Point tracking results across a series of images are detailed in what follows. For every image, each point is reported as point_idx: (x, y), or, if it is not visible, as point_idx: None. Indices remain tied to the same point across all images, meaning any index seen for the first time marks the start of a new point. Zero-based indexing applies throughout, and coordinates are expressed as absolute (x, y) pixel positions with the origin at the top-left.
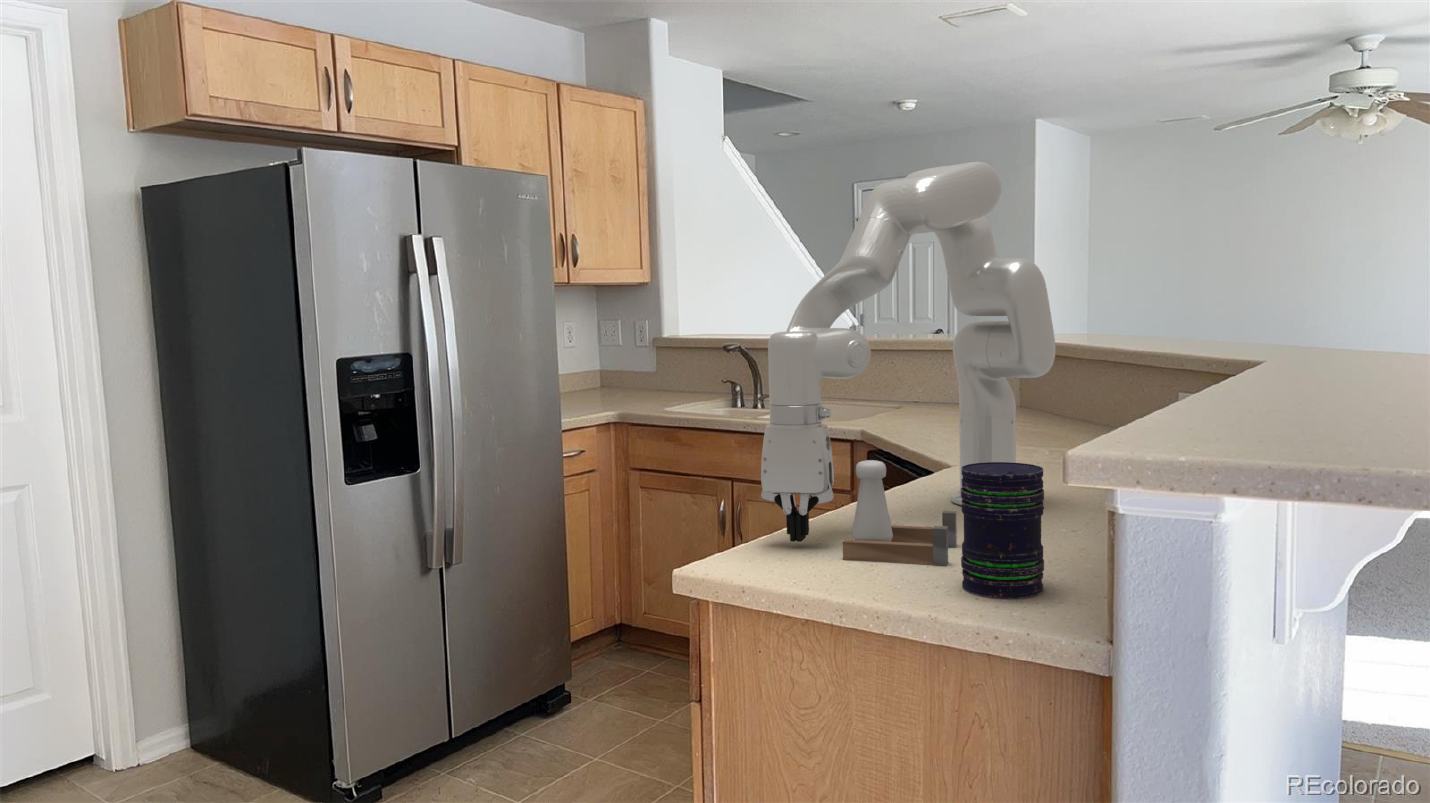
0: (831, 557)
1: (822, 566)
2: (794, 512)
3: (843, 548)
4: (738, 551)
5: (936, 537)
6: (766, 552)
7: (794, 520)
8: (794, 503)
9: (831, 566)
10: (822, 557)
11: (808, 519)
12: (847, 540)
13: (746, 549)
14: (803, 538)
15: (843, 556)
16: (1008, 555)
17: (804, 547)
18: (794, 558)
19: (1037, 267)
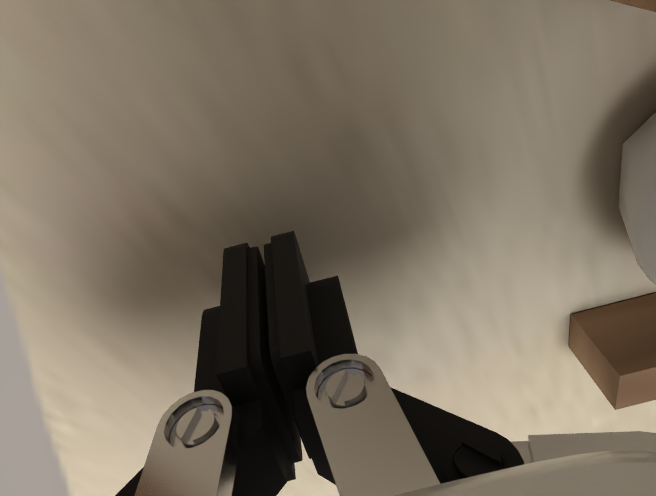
0: (511, 341)
1: (511, 439)
2: (283, 459)
3: (599, 383)
4: (71, 444)
5: None
6: None
7: (299, 436)
8: (234, 465)
9: (543, 427)
10: (473, 357)
11: (353, 339)
12: (635, 382)
13: (73, 409)
14: (307, 278)
15: (578, 356)
16: None
17: (314, 258)
18: None
19: None
